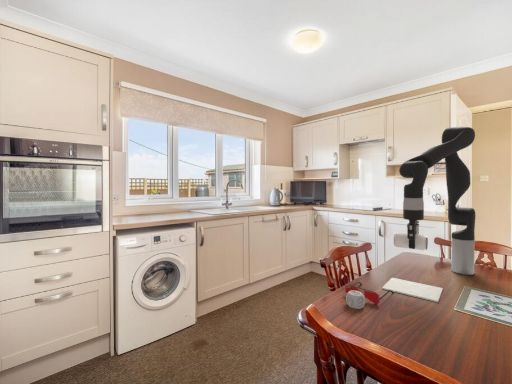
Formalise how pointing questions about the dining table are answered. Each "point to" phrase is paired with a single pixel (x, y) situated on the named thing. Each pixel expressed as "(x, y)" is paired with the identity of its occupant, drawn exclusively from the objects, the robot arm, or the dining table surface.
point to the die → (355, 299)
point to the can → (403, 241)
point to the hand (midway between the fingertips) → (413, 246)
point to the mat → (414, 289)
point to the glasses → (367, 293)
